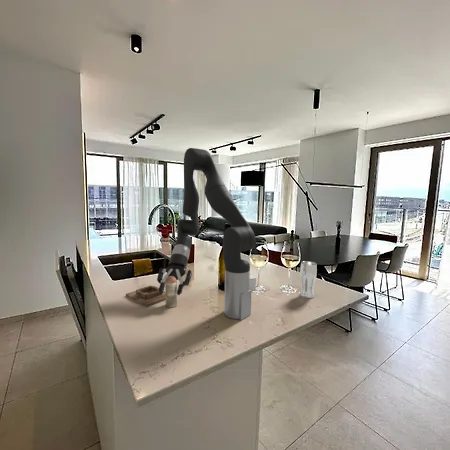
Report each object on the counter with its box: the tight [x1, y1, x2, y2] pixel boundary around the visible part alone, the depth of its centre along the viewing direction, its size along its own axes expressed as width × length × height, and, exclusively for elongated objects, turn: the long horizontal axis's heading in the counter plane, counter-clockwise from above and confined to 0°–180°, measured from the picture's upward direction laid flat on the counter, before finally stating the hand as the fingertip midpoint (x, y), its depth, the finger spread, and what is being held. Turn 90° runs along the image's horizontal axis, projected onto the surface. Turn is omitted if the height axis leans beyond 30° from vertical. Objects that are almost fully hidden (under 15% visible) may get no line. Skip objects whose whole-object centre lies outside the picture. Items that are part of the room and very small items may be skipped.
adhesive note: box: [249, 273, 257, 291], centre depth 124 cm, size 6×6×6 cm
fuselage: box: [164, 276, 178, 309], centre depth 104 cm, size 4×4×12 cm
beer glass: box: [299, 260, 318, 299], centre depth 115 cm, size 7×7×15 cm
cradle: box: [125, 285, 166, 308], centre depth 113 cm, size 16×13×3 cm
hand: (169, 293), depth 102 cm, fingers open, 6 cm apart
